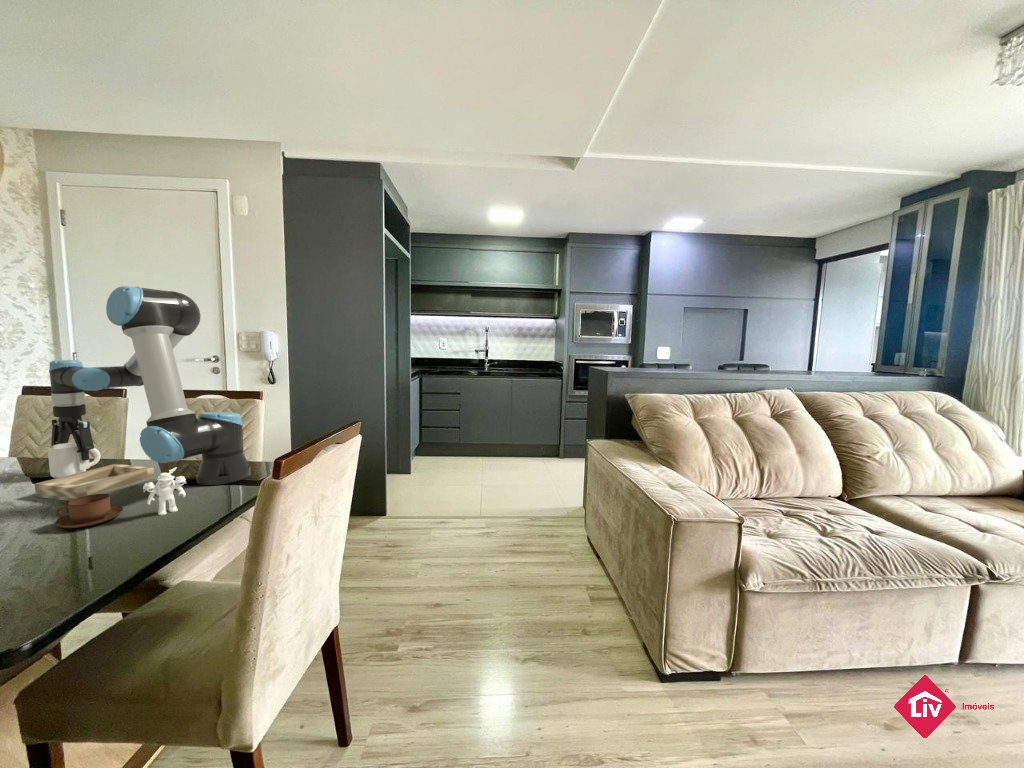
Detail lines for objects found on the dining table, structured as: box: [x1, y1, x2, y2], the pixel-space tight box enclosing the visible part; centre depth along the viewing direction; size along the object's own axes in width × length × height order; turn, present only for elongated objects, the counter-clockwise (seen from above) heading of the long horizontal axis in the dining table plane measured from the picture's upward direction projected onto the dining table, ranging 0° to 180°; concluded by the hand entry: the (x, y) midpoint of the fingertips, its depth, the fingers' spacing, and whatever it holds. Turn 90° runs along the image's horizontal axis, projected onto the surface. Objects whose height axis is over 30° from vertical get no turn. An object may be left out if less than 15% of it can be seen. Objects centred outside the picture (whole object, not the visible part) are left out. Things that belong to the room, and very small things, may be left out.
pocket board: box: [34, 463, 156, 502], centre depth 123 cm, size 17×20×4 cm
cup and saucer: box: [54, 493, 124, 529], centre depth 101 cm, size 12×12×6 cm
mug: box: [47, 442, 101, 479], centre depth 136 cm, size 12×8×10 cm
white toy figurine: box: [142, 466, 187, 516], centre depth 106 cm, size 9×4×12 cm, turn 144°
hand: (74, 467), depth 136 cm, fingers open, 8 cm apart
